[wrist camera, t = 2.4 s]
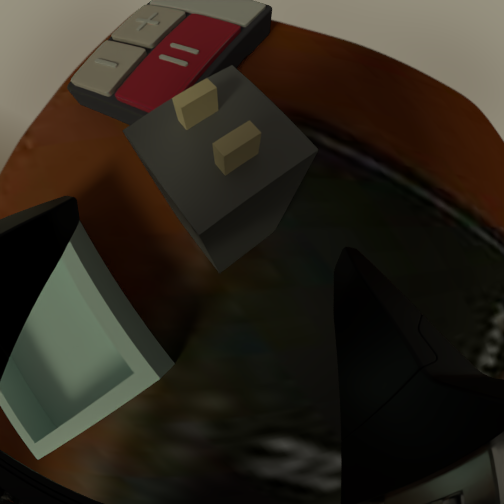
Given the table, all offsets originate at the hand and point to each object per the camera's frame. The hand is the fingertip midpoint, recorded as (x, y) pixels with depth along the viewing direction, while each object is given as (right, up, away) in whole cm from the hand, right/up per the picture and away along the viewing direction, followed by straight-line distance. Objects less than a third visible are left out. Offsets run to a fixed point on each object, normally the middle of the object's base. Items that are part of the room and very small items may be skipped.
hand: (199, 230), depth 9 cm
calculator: (-5, +16, +13) cm, 21 cm away
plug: (0, +1, +10) cm, 10 cm away
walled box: (-12, -7, +8) cm, 16 cm away
